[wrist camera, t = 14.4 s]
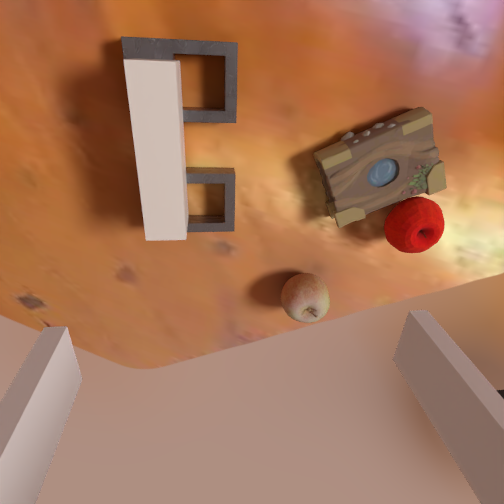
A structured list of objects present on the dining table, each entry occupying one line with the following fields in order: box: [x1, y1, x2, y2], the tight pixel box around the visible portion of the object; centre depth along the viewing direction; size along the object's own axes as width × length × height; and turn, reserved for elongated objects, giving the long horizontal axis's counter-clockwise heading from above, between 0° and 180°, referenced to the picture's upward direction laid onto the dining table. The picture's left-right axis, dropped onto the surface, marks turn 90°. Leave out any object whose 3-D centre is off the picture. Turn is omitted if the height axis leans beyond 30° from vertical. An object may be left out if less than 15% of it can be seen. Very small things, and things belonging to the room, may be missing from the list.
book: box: [313, 107, 447, 228], centre depth 45 cm, size 15×11×5 cm
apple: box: [384, 196, 444, 253], centre depth 48 cm, size 8×8×7 cm
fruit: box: [281, 273, 330, 323], centre depth 53 cm, size 8×7×8 cm
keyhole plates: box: [121, 37, 238, 232], centre depth 42 cm, size 22×12×2 cm, turn 178°
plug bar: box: [123, 58, 188, 241], centre depth 39 cm, size 18×4×8 cm, turn 178°
